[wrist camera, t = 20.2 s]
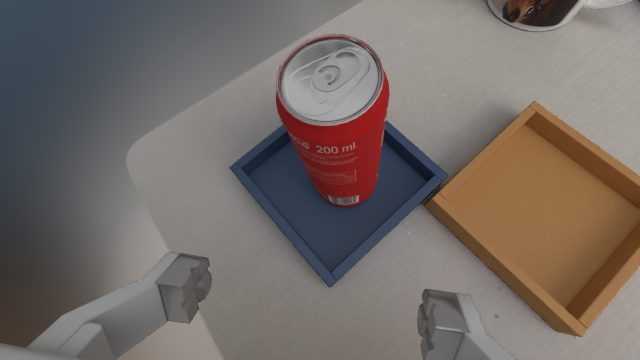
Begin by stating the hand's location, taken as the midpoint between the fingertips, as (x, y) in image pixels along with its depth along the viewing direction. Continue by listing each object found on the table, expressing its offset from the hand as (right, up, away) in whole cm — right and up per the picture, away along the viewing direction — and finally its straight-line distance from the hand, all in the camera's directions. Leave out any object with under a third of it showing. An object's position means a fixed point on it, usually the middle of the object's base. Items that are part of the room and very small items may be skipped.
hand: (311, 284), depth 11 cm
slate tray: (+2, +4, +17) cm, 18 cm away
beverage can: (+2, +4, +17) cm, 17 cm away
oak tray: (+19, +1, +15) cm, 24 cm away
